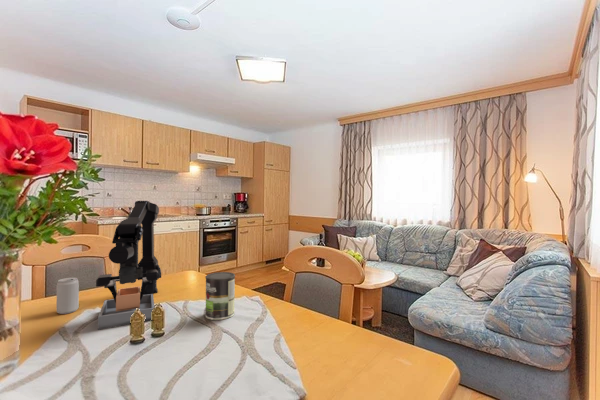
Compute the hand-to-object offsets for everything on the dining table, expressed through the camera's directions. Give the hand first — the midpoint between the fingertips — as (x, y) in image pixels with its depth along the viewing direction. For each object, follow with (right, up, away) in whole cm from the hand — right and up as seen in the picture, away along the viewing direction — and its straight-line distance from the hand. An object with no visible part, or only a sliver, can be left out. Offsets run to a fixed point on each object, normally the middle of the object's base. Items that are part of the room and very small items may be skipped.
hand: (128, 301), depth 103 cm
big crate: (0, -5, 0) cm, 5 cm away
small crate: (0, -1, 0) cm, 1 cm away
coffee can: (+33, -5, +1) cm, 33 cm away
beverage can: (-25, -5, +4) cm, 25 cm away
